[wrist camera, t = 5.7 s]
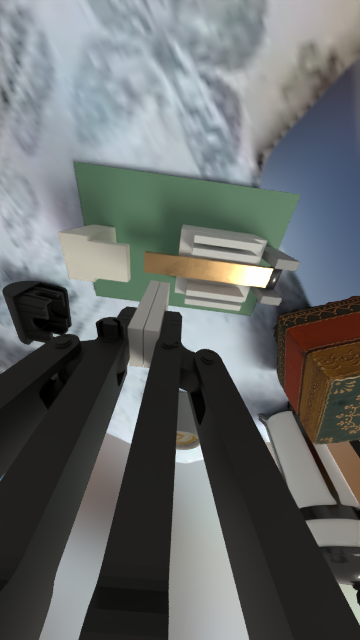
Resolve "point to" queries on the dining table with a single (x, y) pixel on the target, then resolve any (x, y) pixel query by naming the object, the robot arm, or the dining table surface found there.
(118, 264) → the cream white stepped block
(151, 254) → the golden metal bar
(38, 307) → the end cap
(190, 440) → the coffee mug
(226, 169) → the dining table surface
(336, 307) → the decorative box
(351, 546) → the coffee press
